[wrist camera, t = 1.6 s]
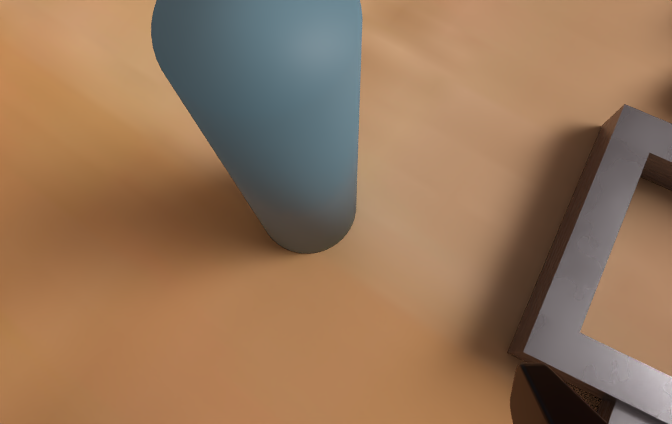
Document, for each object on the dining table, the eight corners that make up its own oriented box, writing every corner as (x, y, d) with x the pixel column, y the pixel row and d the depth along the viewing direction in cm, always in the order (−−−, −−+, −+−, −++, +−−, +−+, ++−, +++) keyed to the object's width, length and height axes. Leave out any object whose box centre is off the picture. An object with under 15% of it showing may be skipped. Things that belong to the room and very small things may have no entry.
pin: (317, 273, 22) (273, 159, 10) (240, 215, 23) (107, 41, 10) (375, 196, 23) (404, 0, 11) (299, 143, 24) (241, -101, 11)
